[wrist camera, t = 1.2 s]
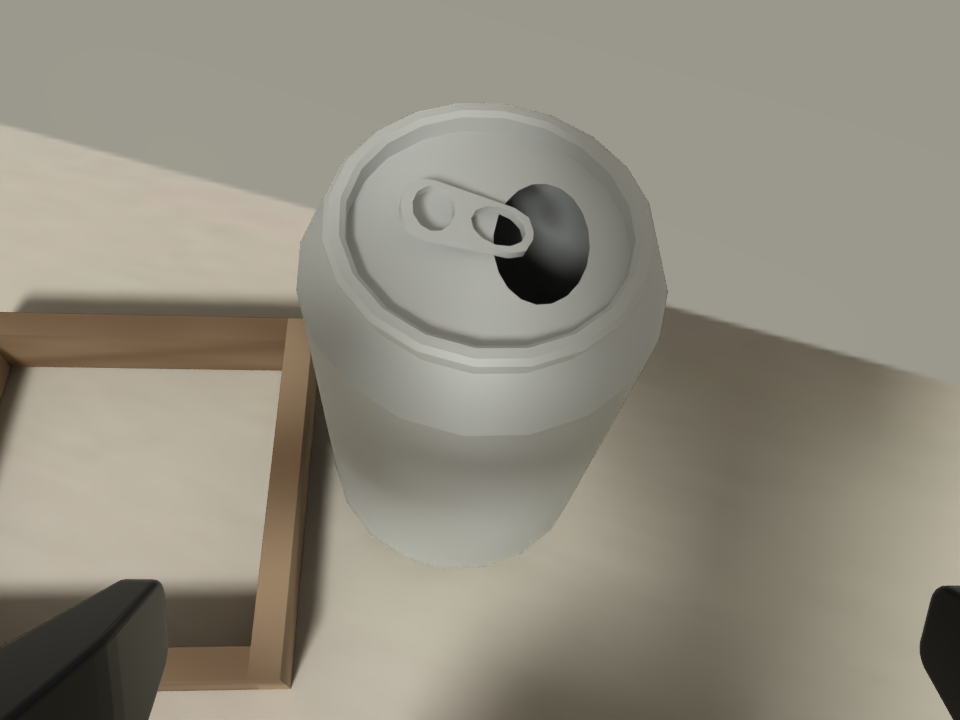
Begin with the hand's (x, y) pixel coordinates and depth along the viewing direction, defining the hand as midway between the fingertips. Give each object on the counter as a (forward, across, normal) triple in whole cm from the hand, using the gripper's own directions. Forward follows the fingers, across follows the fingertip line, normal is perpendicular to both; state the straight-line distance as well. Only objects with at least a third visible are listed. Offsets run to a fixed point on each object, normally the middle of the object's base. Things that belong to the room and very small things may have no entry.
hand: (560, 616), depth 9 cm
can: (+15, 0, +5) cm, 16 cm away
